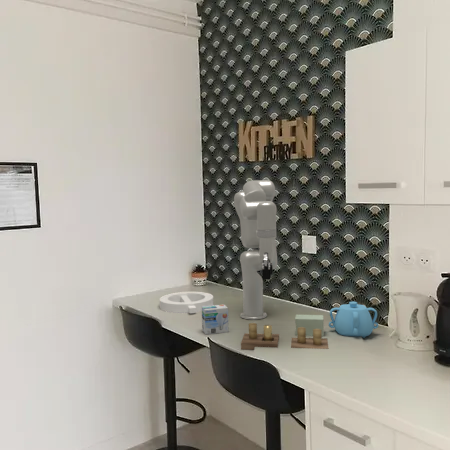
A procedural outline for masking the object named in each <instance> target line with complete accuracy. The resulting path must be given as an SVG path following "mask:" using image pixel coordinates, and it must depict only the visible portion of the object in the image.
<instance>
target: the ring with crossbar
mask: <svg viewBox="0 0 450 450" xmlns="http://www.w3.org/2000/svg"><path fill="white" fill-rule="evenodd" d="M212 305H215V304H214V295H213V294H211V293H210V292H203V291H179V292H172V293H168V294H164V295H163V296H161V297H159V309H160V310H161V311H163V312H166V311H167V312H168V313H171V312H173V314H197V313H199V312H202V306H212Z"/></svg>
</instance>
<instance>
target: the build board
mask: <svg viewBox="0 0 450 450" xmlns="http://www.w3.org/2000/svg"><path fill="white" fill-rule="evenodd" d="M279 340H280V334H278V333H272V341H264V333H258V324H257V323H256V322H250V323H248V332H247V333H245V332H244V334H243V336H242V339H241V342H240V350H243V351H244V350H248V351H251V350H252V351H254V350H255V348H277V349H278V346H279Z"/></svg>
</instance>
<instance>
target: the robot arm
mask: <svg viewBox="0 0 450 450" xmlns="http://www.w3.org/2000/svg"><path fill="white" fill-rule="evenodd" d="M275 195H276V186H275V184H274V182H273V181H272V180H269V179H260V180H259V179H257V180H256V179H255V180H254V179H253V180H249V181H247V182H245V183H244V185H242V191H238V192H236V193H235V194H234V198H233V202H234V203H233V204H234V209H235V211H236V214H237V215H238V218H239V223H240V225H239V226H240V237H241V243H242V246H243V247H244V248H246V249H251V250H245V251H243V252H242V253H241V254H240V256H239V261H240V263H239V264H240V268H241V274H242V304H243V306H242V307H243V308H242V309H243V312H241V313H240V315H239V317H240V318H242V319H244V320H250V321H251V320H254V321H255V320H262V319H265V318H266V317H267V316H268V314H267V312H265V311H264V285H263V283H264V281H265V280H266V281H267V280H271V279H272V275H273V270H275V269H276V268H277V267H278V254H277V242H276V241H277V240H276V238H277V205H276V203H275V202H273V200H274V198H275ZM256 248H257V249H256ZM258 248H259V249H258ZM259 271H261V273H262V276H261V275H260V273H258V272H259ZM263 280H264V281H263Z"/></svg>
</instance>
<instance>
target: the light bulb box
mask: <svg viewBox="0 0 450 450" xmlns="http://www.w3.org/2000/svg"><path fill="white" fill-rule="evenodd" d="M201 325H202V326H201V328H202V329H201V330H202V332H203V333H204V335H214V334H223V333H229V332H230V331H229V329H230V327H229V307H227V305H226V304H214V305H212V306H202V311H201Z"/></svg>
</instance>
